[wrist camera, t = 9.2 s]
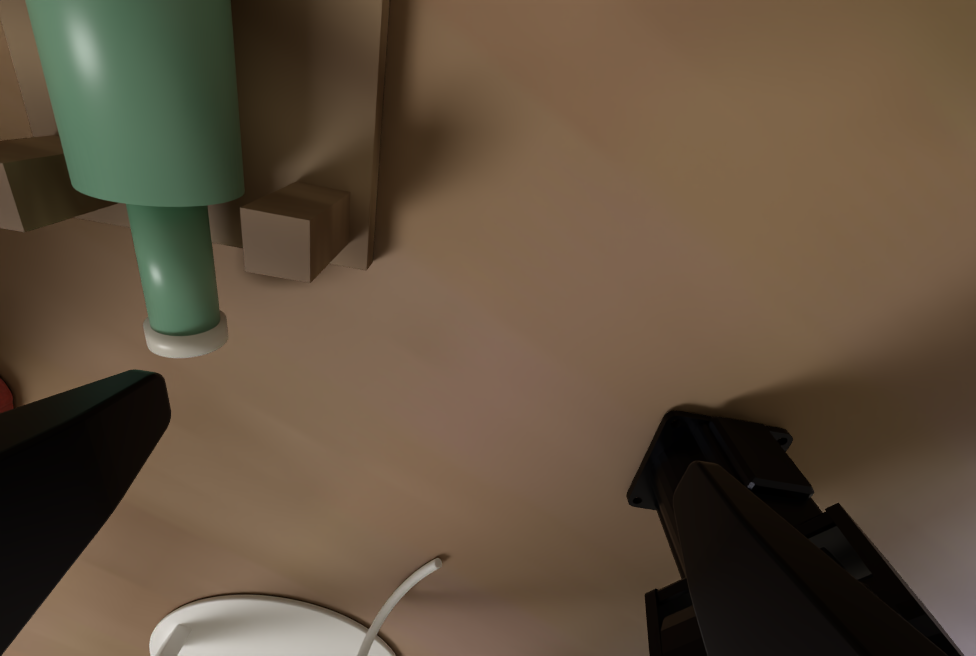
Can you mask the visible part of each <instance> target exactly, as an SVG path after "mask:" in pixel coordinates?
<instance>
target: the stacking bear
mask: <svg viewBox="0 0 976 656" xmlns="http://www.w3.org/2000/svg"><path fill="white" fill-rule="evenodd" d="M12 401H13V396H12V393H11V391H10V390H9V388H8V387H7V385H6V384H5V383H4V381H3V380H2V379H1V378H0V413H2V412H5V411H8V410H11V409H14V408H13V403H12Z"/></svg>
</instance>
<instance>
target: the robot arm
mask: <svg viewBox="0 0 976 656" xmlns="http://www.w3.org/2000/svg"><path fill="white" fill-rule="evenodd" d="M170 419H171V408H170V403H169V398H168V393H167V388H166V383H165V379H164V378H163V376H162V375H161V374H158V373H155V372H149V371H143V370H129V371H126V372H123V373H120V374H117V375H114V376H111V377H108V378H105V379H102V380H99V381H96V382H93V383H90V384H87V385H84V386H81V387H78V388H75V389H72V390H69V391H66V392H63V393H59V394H56V395H53V396H50V397H47V398H44V399H41V400H38V401H35V402H32V403H29V404H26V405H23V406H20V407H17V408H14V409H11V410H8V411H5V412H2V413H0V656H2V654H3V653H4V652H5V650H6V649H7V648H8V647H9V645H10V644H11V643H12V641H13V640H14V639H15V638H16V636H17V635H18V634H19V633H20V631H21V630H22V629H23V627H24V626H25V625H26V624H27V622H28V621H29V620H30V618H31V617H32V616H33V615H34V613H35V612H36V611H37V609H38V608H39V607H40V606H41V604H42V603H43V602H44V601H45V599H46V598H47V597H48V595H49V594H50V593H51V592H52V590H53V589H54V588H55V586H56V585H57V584H58V583H59V581H60V580H61V579H62V577H63V576H64V575H65V574H66V572H67V571H68V570H69V568H70V567H71V566H72V565H73V563H74V562H75V561H76V560H77V558H78V557H79V556H80V554H81V553H82V552H83V551H84V549H85V548H86V547H87V545H88V544H89V543H90V542H91V540H92V539H93V538H94V536H95V535H96V534H97V533H98V531H99V530H100V529H101V527H102V526H103V525H104V524H105V522H106V521H107V519H108V518H109V517H110V515H111V514H112V513H113V511H114V510H115V509H116V507H117V506H118V504H119V503H120V501H121V500H122V498H123V497H124V495H125V494H126V492H127V490H128V489H129V487H130V486H131V484H132V483H133V481H134V479H135V478H136V476H137V475H138V473H139V472H140V470H141V468H142V467H143V465H144V464H145V462H146V460H147V459H148V457H149V456H150V454H151V453H152V451H153V449H154V448H155V446H156V445H157V443H158V442H159V440H160V438H161V437H162V435H163V434H164V432H165V431H166V429H167V427H168V425H169V423H170ZM674 420H677V421H676V422H672V421H674ZM780 438H781V439H780ZM792 441H793V438H792V436H791V435H790V434H789V433H788V431H787V430H786V429H783V428H777V427H771V426H765V425H763V424H759V423H754V422H748V421H742V420H736V419H730V418H724V417H712V416H706V415H700V414H694V413H688V412H682V411H670V412H668V413H666V414H665V415H664V417H663V419H662V421H661V423H660V425H659V427H658V429H657V431H656V433H655V435H654V437H653V440H652V442H651V444H650V446H649V448H648V450H647V452H646V454H645V456H644V458H643V461H642V463H641V465H640V467H639V469H638V471H637V473H636V475H635V477H634V479H633V481H632V484H631V486H630V488H629V490H628V492H627V495H626V496H627V500H628V503H629V504H630V505H631V506H633V507H639V508H645V509H652V510H657V513H658V515H659V518H660V521H661V524H662V526H663V529H664V532H665V535H666V537H667V540H668V543H669V546H670V548H671V551H672V554H673V557H674V559H675V562H676V565H677V567H678V570H679V573H680V576H681V578H682V579H681V580H679V581H677V582H675V583H672V584H670V585H668V586H666V587H664V588H662V589H660V590H657V589H654V590H652V591H650V592H648V593H646V594H645V604H646V617H647V629H648V641H649V654H650V656H964V654H963V653H962V652H961V651H960V649H959V648H958V647H957V646H956V644H955V643H954V642H953V640H952V639H951V638H950V637H949V635H948V634H947V633H946V632H945V630H944V629H943V628H942V626H941V625H940V624H939V623H938V621H937V620H936V619H935V618H934V616H933V615H932V614H931V613H930V611H929V610H928V609H927V608H926V607H925V605H924V604H923V603H922V602H921V600H920V599H919V598H918V597H917V596H916V594H915V593H914V592H913V591H912V590H911V588H910V587H909V586H908V585H907V583H906V582H905V581H904V580H903V579H902V577H901V576H900V575H899V574H898V572H897V571H896V570H895V569H894V568H893V566H892V565H891V564H890V563H889V561H888V560H887V559H886V558H885V557H884V556H883V554H882V553H881V552H880V551H879V550H878V549H877V547H876V546H875V545H874V544H873V543H872V541H871V540H870V539H869V538H868V537H867V536H866V534H865V533H864V532H863V531H862V530H861V529H860V527H859V526H858V525H857V524H856V523H855V522H854V520H853V519H852V518H851V517H850V516H849V515H848V513H847V512H846V511H845V510H844V509H843V507H842V506H841V505H840V504H839V503H837V504H835V505H832V506H830V507H828V508H826V509H825V510H826V512H824V513H822V511H821V510H820V509H819V507H818V506H817V505H816V503H815V502H814V501H813V499H812V498H811V496H812V495H813V494H814V490H813V488H812V486H811V484H810V483H809V482H808V481H807V479H806V478H805V477H804V475H803V474H802V473H801V471H800V470H799V469H798V468H797V466H796V465H795V464H794V462H793V461H792V460H791V459H790V457H789V456H788V455H787V453H786V451H787V449H788V448H789V446H790V445H791V443H792ZM636 497H637V498H636Z"/></svg>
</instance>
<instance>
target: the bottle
mask: <svg viewBox="0 0 976 656" xmlns="http://www.w3.org/2000/svg"><path fill="white" fill-rule="evenodd" d="M25 2H26V6H27V10H28V14H29V18H30V22H31V26H32V30H33V34H34V37H35V41H36V45H37V49H38V53H39V57H40V61H41V65H42V69H43V73H44V77H45V81H46V85H47V89H48V93H49V97H50V101H51V105H52V109H53V113H54V117H55V121H56V124H57V128H58V132H59V136H60V140H61V144H62V148H63V152H64V156H65V160H66V164H67V168H68V172H69V176H70V180H71V184H72V186H73V188H75V189H76V190H77V191H79V192H81V193H83V194H85V195H88V196H91V197H95V198H98V199H102V200H107V201H112V202H118V203H125V204H126V207H127V212H128V217H129V222H130V227H131V232H132V237H133V242H134V247H135V252H136V257H137V262H138V267H139V272H140V277H141V282H142V287H143V292H144V297H145V302H146V307H147V312H148V317H147V318H146V319H145V321H144V323H143V328H144V332H145V337H146V342H147V346H148V348H149V350H150V351H152V352H153V353H155V354H157V355H160V356H164V357H170V358H189V357H196V356H201V355H205V354H208V353H211V352H213V351H215V350H217V349H219V348H220V347H222V346H223V345H224V344H225V343H226V342H227V340H228V328H227V319H226V315H225V314H224V313H223V312H222V311H220V310H219V301H218V293H217V284H216V275H215V267H214V258H213V249H212V240H211V232H210V223H209V214H208V205H214V204H220V203H225V202H229V201H232V200H235V199H237V198H240V197H241V196H242V195H243V194H244V192H245V188H244V174H243V161H242V147H241V134H240V120H239V107H238V93H237V79H236V66H235V52H234V39H233V25H232V12H231V0H25Z"/></svg>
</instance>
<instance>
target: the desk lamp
mask: <svg viewBox="0 0 976 656" xmlns="http://www.w3.org/2000/svg"><path fill="white" fill-rule="evenodd" d="M441 566H442V561H441V559H440V558H436V559H434V560H432V561H430V562H428V563H427V564H425V565H424V566H422V567H421V568H419V569H418V570H417V571H415V572H414V573H413V574H412V575H411V576H409V577H408V578H407V579H406V580H405V581H404V582H403V583H402V584H401V585H400V586H399V587H398V588H397V589H396V590H395V591H394V593H393V594H392V595H391V596H390V597H389V599H388V600H387V601H386V603H385V604H384V605H383V607H382V608H381V610H380V611H379V613H378V614H377V616H376V618H375V619H374V621H373V623H372V624H371V626H370V628H369V629H368V628H366V627H365V626H363V625H361V624H360V623H358V622H356V621H354V620H352V619H350V618H348V617H346V616H344V615H342V614H339V613H337V612H334V611H332V610H329V609H326V608H323V607H320V606H317V605H313V604H310V603H306V602H302V601H298V600H293V599H288V598H282V597H274V596H265V595H225V596H217V597H211V598H206V599H201V600H198V601H194V602H191V603H189V604H186V605H184V606H182V607H180V608H178V609H176V610H174V611H173V612H171V613H169V614H168V615H167V616H165V617H164V618H163V619H162V620H161V621H160V622H159V623H158V625H157V626H156V628H155V629H154V631H153V633H152V635H151V638H150V644H149V648H150V655H151V656H396V654H395V653H394V652H393V650H392V649H391V648H390V647H389V646H388V645H387V644H386V643H385V642H384V641H383V640H382V639H381V638H380V637H379V636H378V635H377V633H378V631H379V629H380V628H381V626H382V624H383V622H384V621H385V619H386V618H387V616H388V615H389V613H390V612H391V610H392V609H393V608H394V606H395V605H396V604H397V603H398V601H399V600H400V599H401V598H402V597H403V596H404V595H405V594H406V593H407V592H408V591H409V590H410V589H411V588H412V587H413V586H414V585H415V584H416V583H418V582H419V581H420V580H421V579H423V578H424V577H426V576H427V575H429V574H430V573H432V572H433V571H435V570H437V569H439V568H441Z"/></svg>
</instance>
